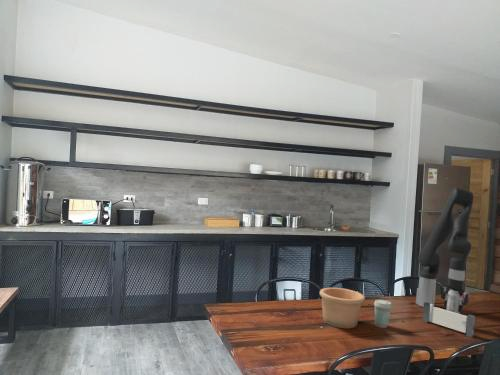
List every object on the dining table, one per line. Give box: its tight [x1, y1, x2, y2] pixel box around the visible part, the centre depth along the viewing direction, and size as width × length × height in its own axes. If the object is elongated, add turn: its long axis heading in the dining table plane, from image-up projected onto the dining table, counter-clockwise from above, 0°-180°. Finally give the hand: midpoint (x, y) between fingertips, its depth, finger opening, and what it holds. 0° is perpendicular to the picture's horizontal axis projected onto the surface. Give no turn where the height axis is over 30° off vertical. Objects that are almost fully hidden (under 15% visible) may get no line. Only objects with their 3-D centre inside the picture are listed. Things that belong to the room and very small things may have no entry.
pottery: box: [319, 287, 366, 329], centre depth 189 cm, size 22×22×14 cm
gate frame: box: [422, 302, 476, 338], centre depth 192 cm, size 24×2×10 cm, turn 41°
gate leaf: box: [428, 303, 468, 334], centre depth 192 cm, size 18×2×9 cm, turn 41°
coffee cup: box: [373, 299, 393, 329], centre depth 189 cm, size 8×8×12 cm
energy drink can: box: [445, 290, 461, 314], centre depth 198 cm, size 6×6×15 cm
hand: (453, 309), depth 198 cm, fingers closed on energy drink can, 6 cm apart
